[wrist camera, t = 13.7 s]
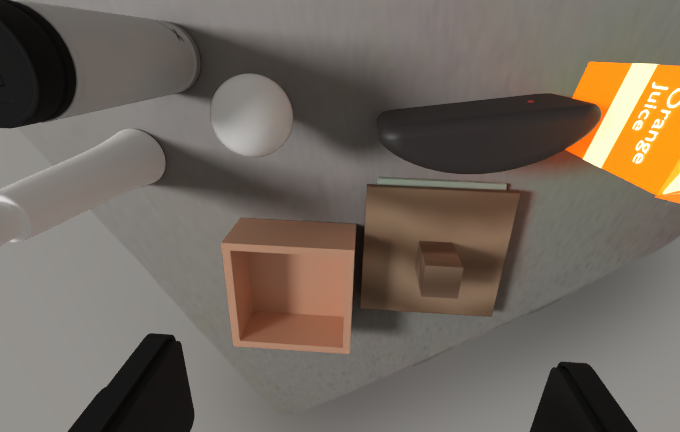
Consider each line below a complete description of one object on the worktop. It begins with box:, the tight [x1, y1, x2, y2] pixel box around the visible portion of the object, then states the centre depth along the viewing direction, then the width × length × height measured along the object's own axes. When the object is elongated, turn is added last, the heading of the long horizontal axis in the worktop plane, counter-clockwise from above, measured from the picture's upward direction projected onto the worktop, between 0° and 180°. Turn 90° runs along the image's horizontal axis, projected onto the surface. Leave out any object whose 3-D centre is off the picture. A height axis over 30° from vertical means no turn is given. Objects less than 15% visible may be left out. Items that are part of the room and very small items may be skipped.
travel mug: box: [0, 0, 201, 128], centre depth 26 cm, size 6×7×20 cm
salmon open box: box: [221, 218, 356, 354], centre depth 41 cm, size 13×13×6 cm
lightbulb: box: [210, 73, 293, 157], centre depth 31 cm, size 6×6×11 cm
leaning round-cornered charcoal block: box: [377, 94, 602, 174], centre depth 32 cm, size 16×5×9 cm, turn 97°
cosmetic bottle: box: [0, 129, 166, 246], centre depth 30 cm, size 6×6×22 cm
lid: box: [360, 184, 520, 317], centre depth 38 cm, size 15×15×6 cm
